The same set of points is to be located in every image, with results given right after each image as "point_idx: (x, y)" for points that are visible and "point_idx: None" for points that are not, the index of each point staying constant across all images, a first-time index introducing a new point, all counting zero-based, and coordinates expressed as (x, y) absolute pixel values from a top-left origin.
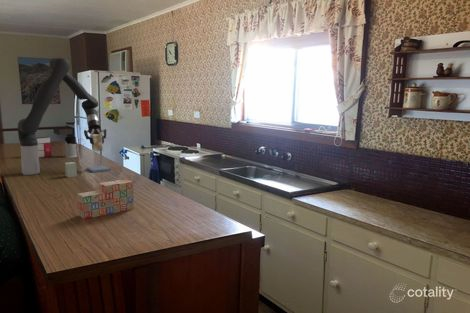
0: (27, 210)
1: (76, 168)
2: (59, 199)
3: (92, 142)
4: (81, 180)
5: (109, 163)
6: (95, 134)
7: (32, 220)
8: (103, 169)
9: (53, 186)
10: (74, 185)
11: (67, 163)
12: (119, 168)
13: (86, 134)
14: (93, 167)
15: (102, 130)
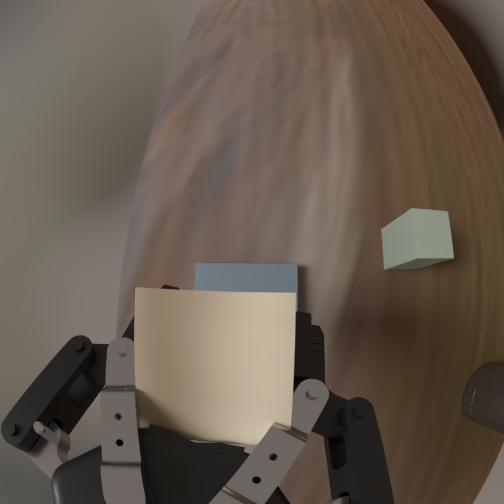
0: (449, 40)
1: (398, 217)
2: (418, 43)
3: (301, 312)
4: (375, 146)
5: None
6: (213, 422)
7: (431, 14)
8: (236, 263)
9: (449, 133)
10: (399, 103)
11: (446, 229)
12: None
13: (370, 448)
14: None
15: (53, 465)
